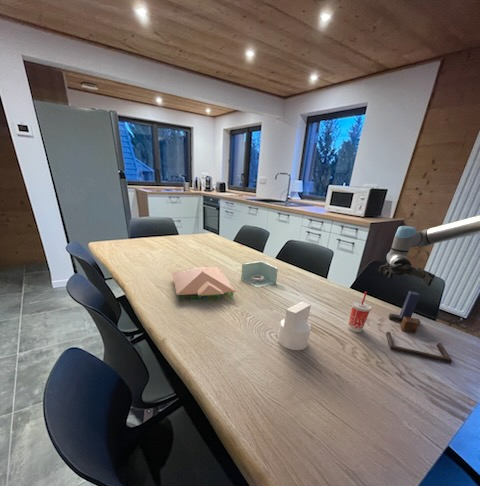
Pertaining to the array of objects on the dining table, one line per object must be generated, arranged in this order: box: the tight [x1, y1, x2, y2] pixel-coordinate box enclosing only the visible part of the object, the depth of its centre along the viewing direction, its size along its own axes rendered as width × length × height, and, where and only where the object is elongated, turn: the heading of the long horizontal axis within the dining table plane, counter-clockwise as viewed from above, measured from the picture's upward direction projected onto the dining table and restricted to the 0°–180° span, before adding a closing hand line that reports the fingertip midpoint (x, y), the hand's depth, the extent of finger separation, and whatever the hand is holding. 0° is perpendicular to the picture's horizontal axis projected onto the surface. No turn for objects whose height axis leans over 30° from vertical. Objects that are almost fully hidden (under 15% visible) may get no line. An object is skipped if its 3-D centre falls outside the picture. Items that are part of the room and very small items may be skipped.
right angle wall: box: [240, 260, 279, 288], centre depth 126 cm, size 12×12×8 cm
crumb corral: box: [385, 331, 453, 364], centre depth 83 cm, size 16×10×1 cm, turn 70°
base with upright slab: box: [277, 300, 312, 351], centre depth 79 cm, size 9×9×12 cm
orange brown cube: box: [399, 316, 420, 334], centre depth 93 cm, size 4×4×4 cm
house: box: [171, 266, 236, 303], centre depth 113 cm, size 23×33×8 cm
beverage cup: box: [347, 290, 373, 333], centre depth 89 cm, size 6×6×14 cm
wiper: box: [388, 290, 421, 325], centre depth 97 cm, size 10×3×12 cm, turn 70°
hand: (410, 279), depth 102 cm, fingers open, 13 cm apart
